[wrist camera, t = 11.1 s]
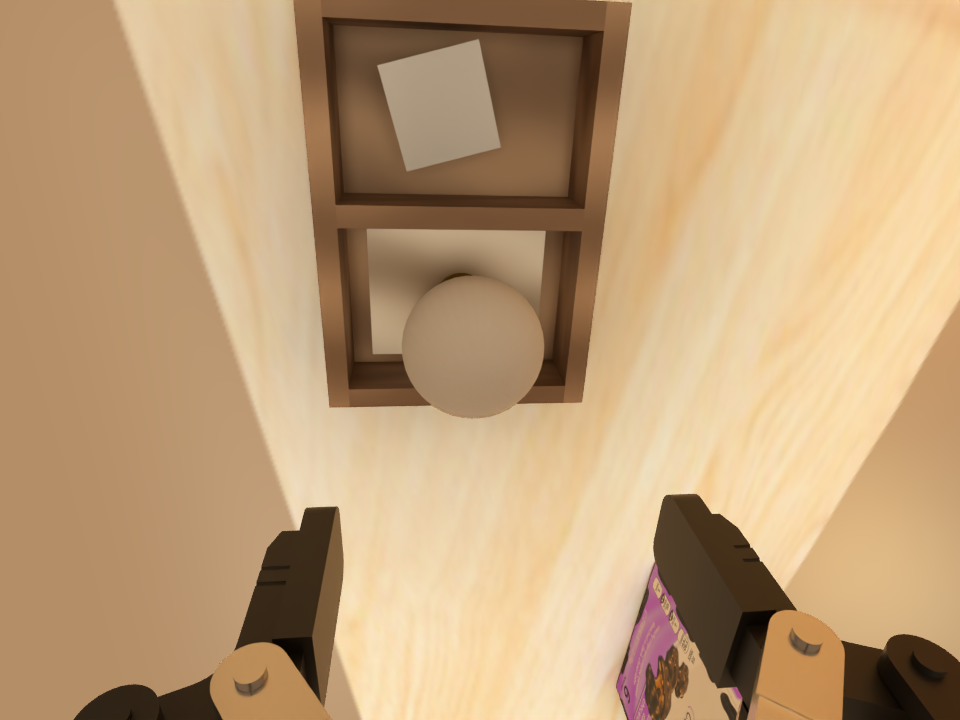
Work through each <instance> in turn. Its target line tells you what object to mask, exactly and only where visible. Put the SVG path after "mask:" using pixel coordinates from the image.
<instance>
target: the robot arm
mask: <svg viewBox="0 0 960 720" xmlns="http://www.w3.org/2000/svg"><path fill="white" fill-rule="evenodd" d="M653 549H654V557H655V562H656V565H657V567H658V569H659V572H660V574H661V576H662V578H663V580H664V582H665V584H666V586H667V588H668V590H669V592H670V594H671V596H672V598H673V600H674V602H675V604H676V606H677V608H678V610H679V612H680V614H681V616H682V618H683V620H684V622H685V624H686V626H687V628H688V630H689V632H690V634H691V636H692V638H693V640H694V642H695V644H696V646H697V648H698V650H699V652H700V654H701V656H702V658H703V660H704V663H705V665H706V667H707V669H708V671H709V673H710V675H711V677H712V679H713V681H714V683H715V685H716V687H717V689H718V688H731V687H737V689H738V691H739V693H740V694H741V696H742V699H741V701H740V704H739V707H738V712H737V717H736V720H960V662H959V661H958V660H957V659H956V658H955V657H954V656H952V655H951V654H950V653H949V652H947V651H946V650H945V649H943V648H941V647H940V646H938V645H936V644H935V643H932V642H931V641H929V640H925V639H924V638H920V637H917V636H913V635H905V634H902V635H896V636H893V637H891V638H890V639H889V641H888V642H887V644H886V646H885V648H884V650H881V649H877V648H872V647H867V646H862V645H858V644H854V643H849V642H845V641H841V640H840V639H839V638H838V636H837V635H836V634H835V633H834V631H833V630H832V629H831V628H829V627H828V626H827V625H826V624H825V623H823V622H822V621H820V620H819V619H817V618H815V617H813V616H811V615H809V614H806V613H803V612H799V611H797V610H796V608H795V607H794V606H793V604H792V603H791V601H790V600H789V598H788V597H787V596H786V594H785V593H784V591H783V590H782V589H781V587H780V586H779V584H778V583H777V582H776V580H775V579H774V578H773V576H772V575H771V573H770V572H769V571H768V569H767V568H766V566H765V565H764V564H763V562H760V560H759V557H758V555H757V554H756V552H755V551H754V550H753V548H750V544H749V543H748V541H747V540H746V538H745V537H744V536H743V534H742V533H741V532H740V530H739V529H738V528H737V527H736V526H735V525H733V524H732V523H731V522H730V521H728V520H727V519H726V518H724V517H723V516H722V515H721V514H711V512H710V511H709V509H708V508H707V506H706V505H705V503H704V502H703V500H702V499H701V498H700V496H698V495H697V494H679V495H666V496H665V497H664V499H663V502H662V506H661V510H660V515H659V520H658V524H657V529H656V533H655V538H654V545H653ZM343 563H344V562H343V546H342V535H341V524H340V514H339V508H338V507H312V508H306V509H305V512H304V515H303V519H302V523H301V527H300V531H282V532H281V533H280V534H279V535H278V536H277V537H276V539H275V540H274V541H273V542H272V543H271V545H270V546H269V547H268V548H267V551H266V554H265V557H264V560H263V563H262V569H261V571H260V573H259V576H258V580H257V585H256V586H255V589H254V592H253V595H252V598H251V602H250V605H249V608H248V611H247V614H246V617H245V621H244V624H243V627H242V630H241V633H240V636H239V639H238V642H237V645H236V648H235V650H234V652H232V653H231V654H230V655H228V656H227V657H226V658H225V659H224V660H223V661H222V662H221V663H220V664H219V666H218V667H217V669H216V670H215V672H214V673H213V674H212V675H210V676H209V677H208V678H206V679H204V680H202V681H200V682H198V683H196V684H193V685H191V686H188V687H185V688H182V689H180V690H176V691H174V692H171V693H168V694H165V695H162V696H159V697H157V695H156V694H155V692H154V691H153V690H151V689H150V688H148V687H146V686H143V685H136V684H135V685H125V686H120V687H118V688H114V689H112V690H109V691H107V692H105V693H103V694H102V695H100V696H98V697H97V698H95V699H94V700H93V701H91V702H90V703H89V704H88V705H86V706H85V707H84V708H83V709H82V710H81V711H80V713H78V715H77V716H76V717H75V719H74V720H332V719H331V717H330V716H329V714H328V713H327V711H326V710H325V709H324V705H325V698H326V692H327V685H328V677H329V671H330V664H331V657H332V650H333V644H334V637H335V630H336V623H337V616H338V609H339V602H340V596H341V589H342V582H343Z"/></svg>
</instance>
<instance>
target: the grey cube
mask: <svg viewBox="0 0 960 720" xmlns="http://www.w3.org/2000/svg"><path fill="white" fill-rule="evenodd" d="M377 66H378V70H379V73H380V77H381V81H382V84H383V88H384V91H385V95H386V99H387V102H388V106H389V109H390V113H391V117H392V120H393V124H394V128H395V131H396V135H397V138H398V142H399V146H400V149H401V153H402V156H403V160H404V164H405V167H406V171H411V170H415V169H419V168H423V167H427V166H430V165H434V164H438V163H442V162H446V161H450V160H454V159H458V158H462V157H466V156H469V155H473V154H477V153H481V152H485V151H489V150H493V149H497V148H501V146H500V141H499V136H498V131H497V126H496V121H495V117H494V112H493V107H492V102H491V97H490V92H489V87H488V82H487V77H486V72H485V67H484V62H483V57H482V52H481V47H480V42H479V39H477V40H474V41H470V42H466V43H462V44H458V45H454V46H450V47H447V48H443V49H439V50H435V51H431V52H427V53H423V54H419V55H416V56H412V57H408V58H404V59H400V60H396V61H392V62H388V63H385V64H381V65H377Z"/></svg>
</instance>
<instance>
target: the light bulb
mask: <svg viewBox="0 0 960 720" xmlns="http://www.w3.org/2000/svg"><path fill="white" fill-rule="evenodd" d="M402 357H403V362H404V366H405V370H406V372H407V374H408V377H409V379H410V381H411V383H412V384H413V386H414V387H415V389H416V390H417V392H418V393H419V394H420V395H421V396H422V397H423V398H424V399H425V400H426V401H427V402H429V403H430V404H431V405H432V406H434V407H436V408H437V409H439V410H441V411H443V412H445V413H448V414H450V415H454V416H458V417H462V418H483V417H489V416H493V415H496V414H499V413H501V412H503V411H505V410H507V409H509V408H511V407H512V406H514V405H515V404H517V403H518V402H519V401H520V400H521V399H522V398H523V397H524V396H525V395H526V394H527V393H528V392H529V390H530V389H531V388H532V386H533V384H534V383H535V381H536V379H537V377H538V375H539V372H540V370H541V366H542V362H543V357H544V338H543V331H542V328H541V324H540V321H539V319H538V317H537V315H536V313H535V311H534V309H533V308H532V307H531V305H530V304H529V302H528V301H527V300H526V299H525V298H524V297H523V296H522V295H521V294H520V293H519V292H518V291H517V290H515V289H514V288H512V287H511V286H509V285H508V284H505V283H503V282H501V281H499V280H496V279H493V278H489V277H484V276H473V275H471V274H467V273H456V274H452V275H450V276H448V277H446V278H445V279H444V280H443V281H442V282H441V283H440V284H438V285H437V286H435V287H434V288H432V289H431V290H429V291H428V292H427V293H426V294H425V295H424V296H423V297H422V298H421V299H420V300H419V301H418V302H417V304H416V305H415V306H414V308H413V309H412V311H411V313H410V315H409V317H408V319H407V321H406V324H405V328H404V331H403V338H402Z"/></svg>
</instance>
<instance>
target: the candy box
mask: <svg viewBox="0 0 960 720" xmlns="http://www.w3.org/2000/svg"><path fill="white" fill-rule="evenodd" d="M616 688H617V691H618V693H619V697H620V700H621V702H622V705H623V708H624V711H625V714H626V717H627V720H736V717H737V712H738V707H739V704H740V701H741V699H742V696H741V694H740V693H739V691H738V689H737V687H731V688H718V689H717V687H716V685H715V683H714V681H713V679H712V677H711V675H710V673H709V671H708V669H707V667H706V665H705V663H704V660H703V658H702V656H701V654H700V652H699V650H698V648H697V646H696V644H695V642H694V640H693V638H692V636H691V634H690V632H689V630H688V628H687V626H686V624H685V622H684V620H683V618H682V616H681V614H680V612H679V610H678V608H677V606H676V604H675V602H674V600H673V598H672V596H671V594H670V592H669V590H668V588H667V586H666V584H665V582H664V580H663V578H662V576H661V574H660V572H659V569H658V567H657V565H656V564H655V566H654V569H653V572H652V574H651V577H650V580H649V584H648V588H647V591H646V595H645V597H644V600H643V603H642V606H641V609H640V614H639V616H638V619H637V622H636V625H635V629H634V632H633V635H632V638H631V642H630V645H629V648H628V651H627V654H626V657H625V661H624V663H623V667H622V670H621V673H620V676H619V679H618V682H617V686H616Z"/></svg>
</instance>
